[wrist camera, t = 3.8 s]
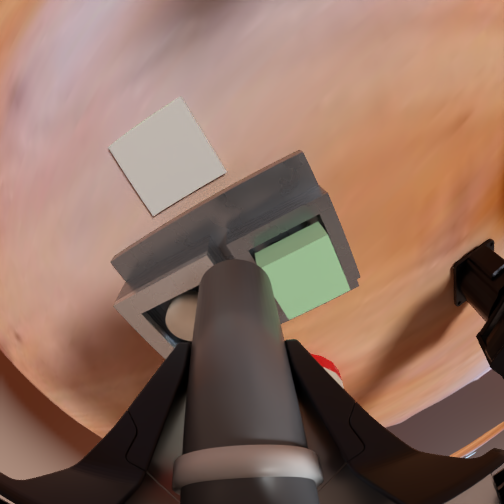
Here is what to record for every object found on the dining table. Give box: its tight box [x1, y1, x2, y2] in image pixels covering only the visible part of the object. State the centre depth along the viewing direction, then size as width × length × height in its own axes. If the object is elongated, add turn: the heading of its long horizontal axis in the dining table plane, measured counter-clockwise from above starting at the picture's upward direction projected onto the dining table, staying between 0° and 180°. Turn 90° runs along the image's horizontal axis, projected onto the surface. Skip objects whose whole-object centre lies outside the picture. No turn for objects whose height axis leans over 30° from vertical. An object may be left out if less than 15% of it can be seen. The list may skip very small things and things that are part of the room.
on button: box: [255, 222, 350, 320], centre depth 18 cm, size 4×4×2 cm
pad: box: [108, 96, 227, 216], centre depth 17 cm, size 6×6×1 cm
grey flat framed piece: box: [111, 150, 360, 359], centre depth 20 cm, size 12×16×4 cm
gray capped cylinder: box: [172, 259, 324, 504], centre depth 8 cm, size 4×4×10 cm
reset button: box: [165, 291, 198, 341], centre depth 20 cm, size 4×4×1 cm
